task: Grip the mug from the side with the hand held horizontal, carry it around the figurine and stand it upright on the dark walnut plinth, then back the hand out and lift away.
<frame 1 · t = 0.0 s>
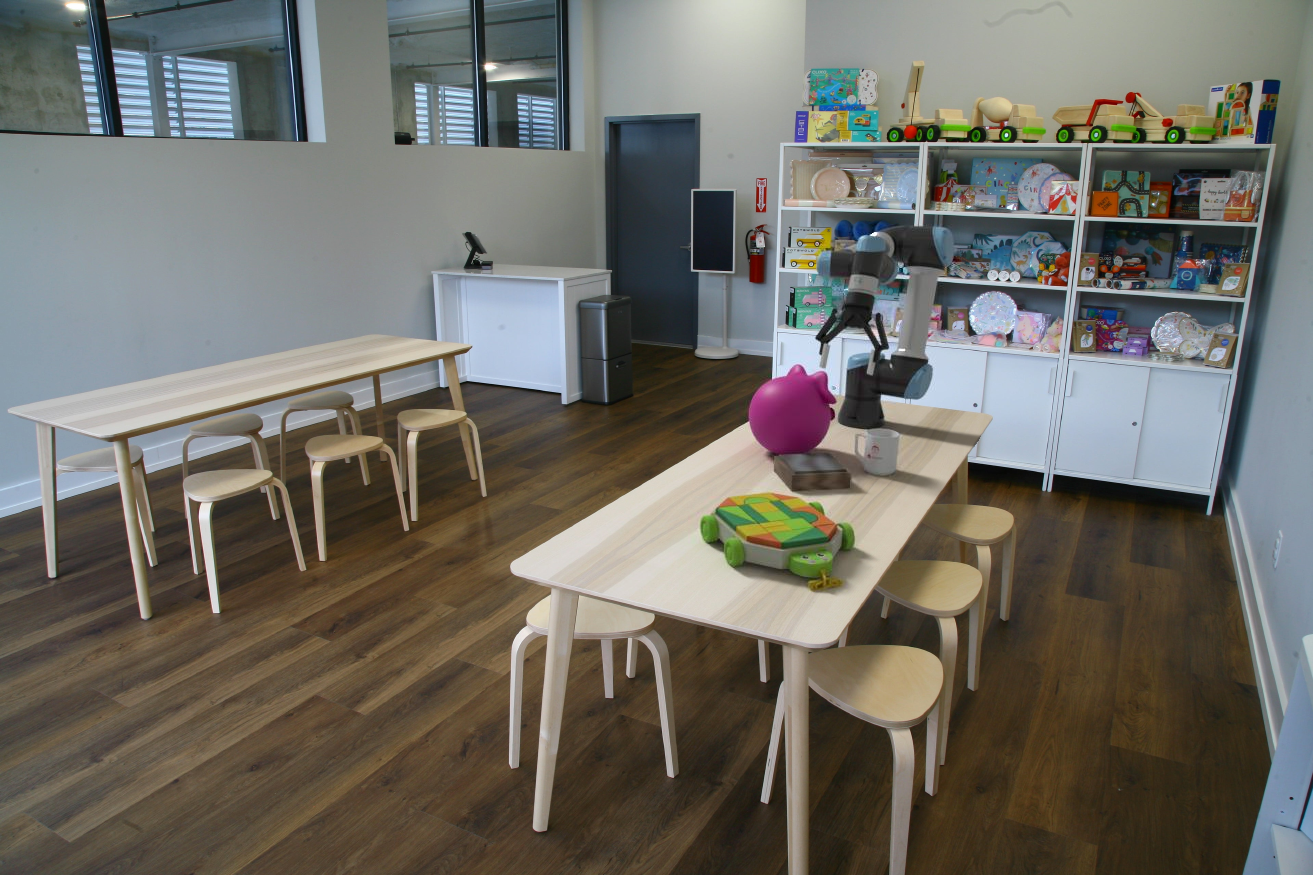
hand: (845, 371, 230), 28 cm above the table, tool tilted 20°, fingers open, 13 cm apart
figurine: (788, 453, 251), on the table
toy wagon: (777, 548, 188), on the table
mug: (873, 471, 237), on the table
walnut plinth: (810, 479, 229), on the table
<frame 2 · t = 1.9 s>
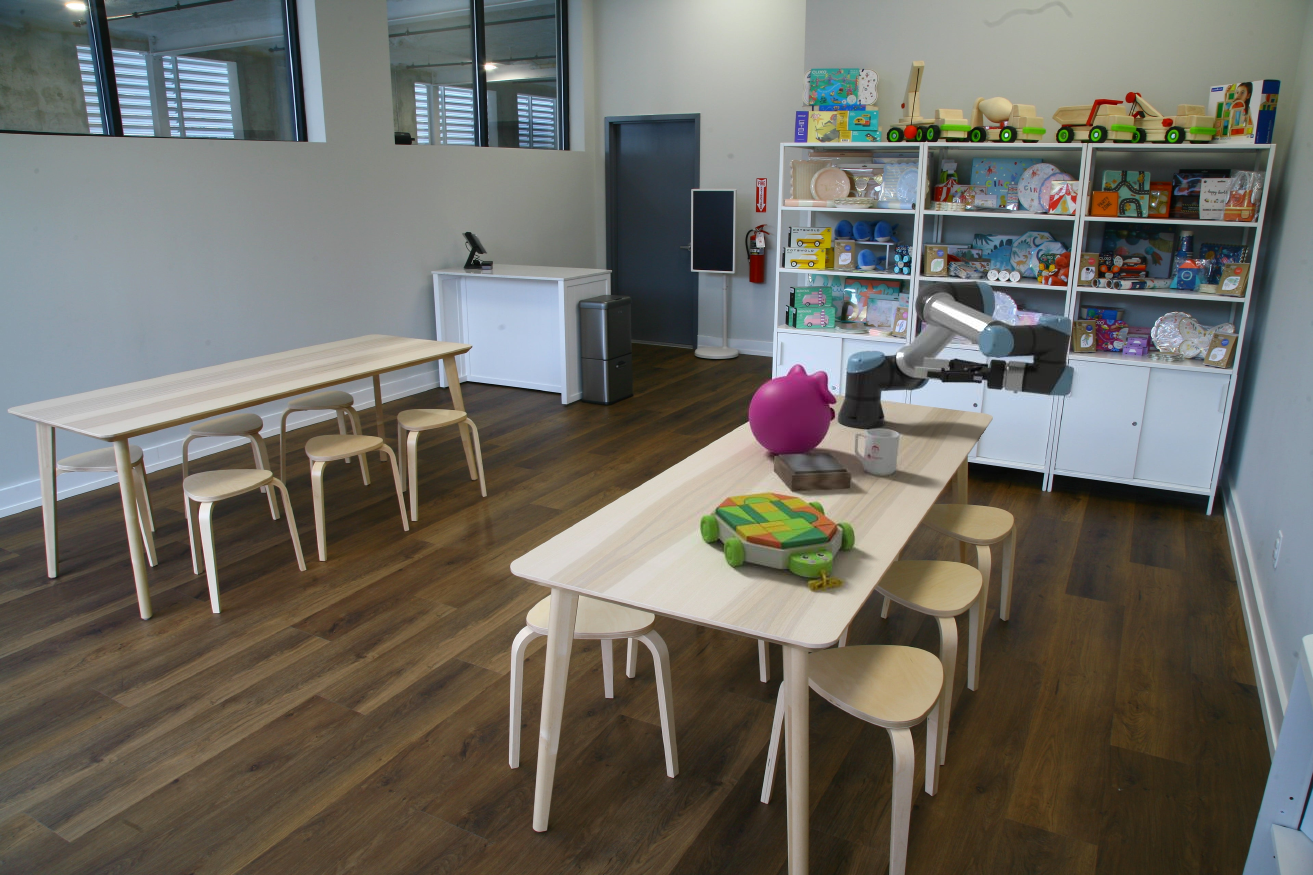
hand: (919, 367, 224), 30 cm above the table, tool horizontal, fingers open, 13 cm apart
nothing on the table moved.
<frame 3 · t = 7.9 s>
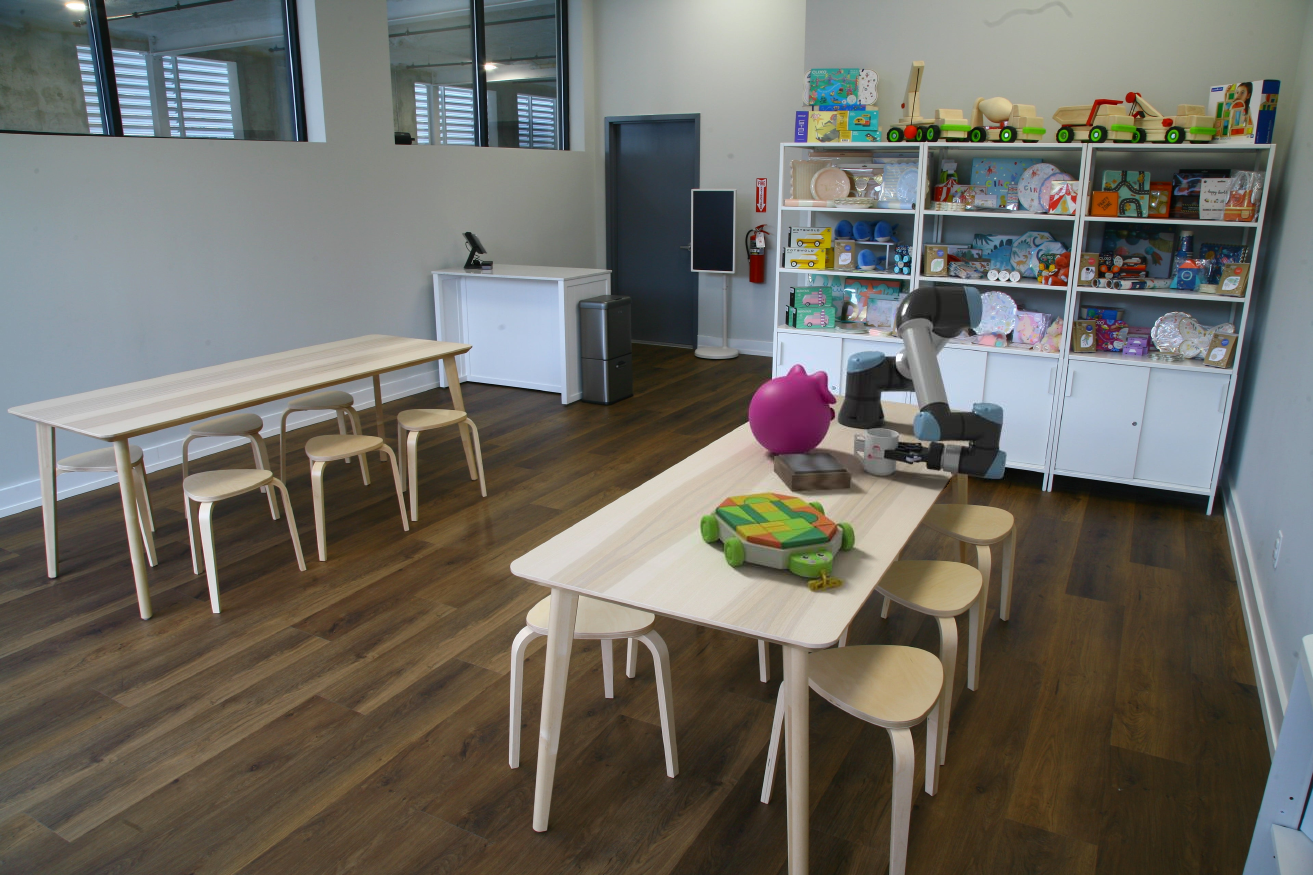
hand: (855, 444, 237), 7 cm above the table, tool horizontal, fingers closed on mug
mug: (873, 471, 237), on the table, touching gripper
everything else where it was.
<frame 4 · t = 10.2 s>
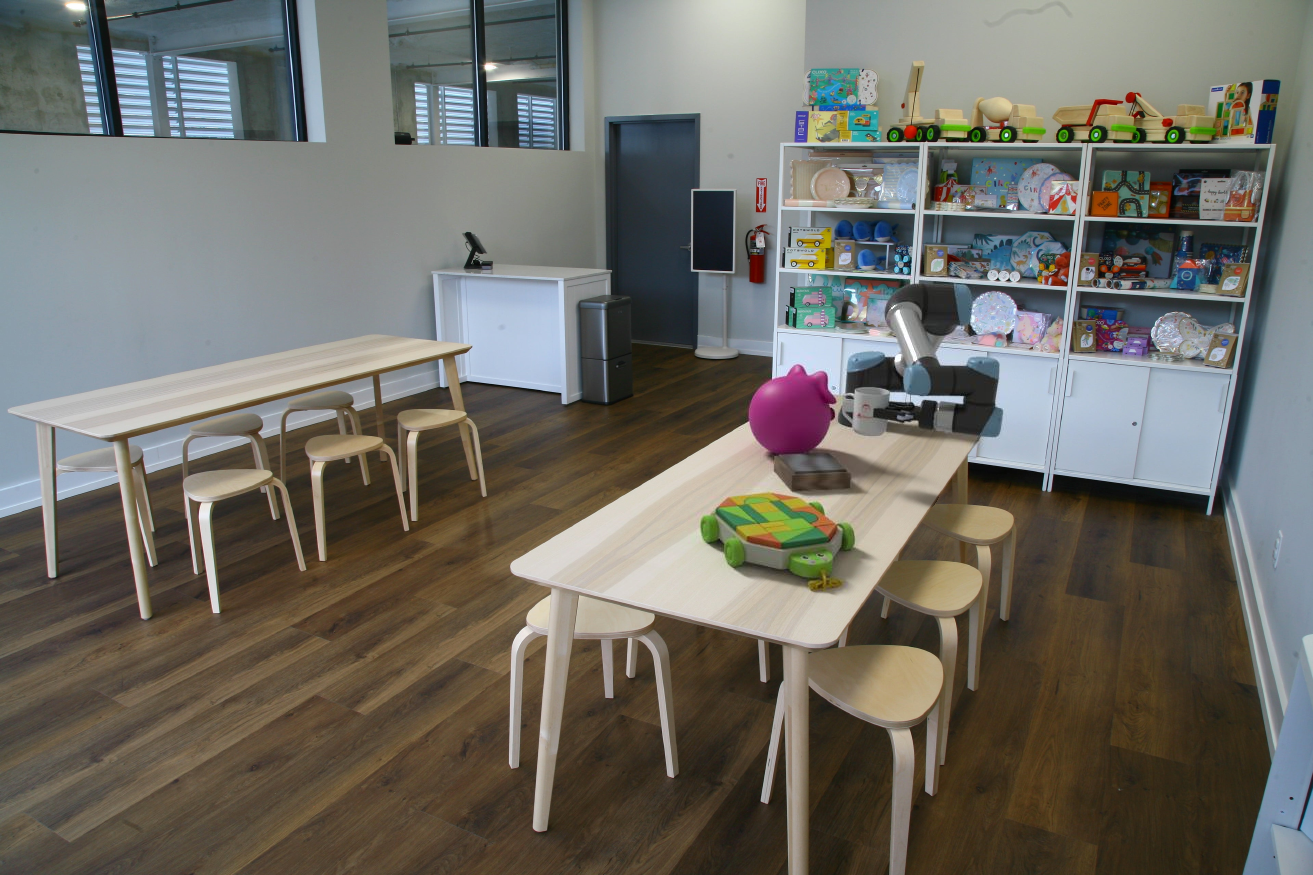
hand: (844, 404, 225), 20 cm above the table, tool horizontal, fingers closed on mug
mug: (862, 432, 224), point 14 cm above the table, touching gripper
everything else where it was.
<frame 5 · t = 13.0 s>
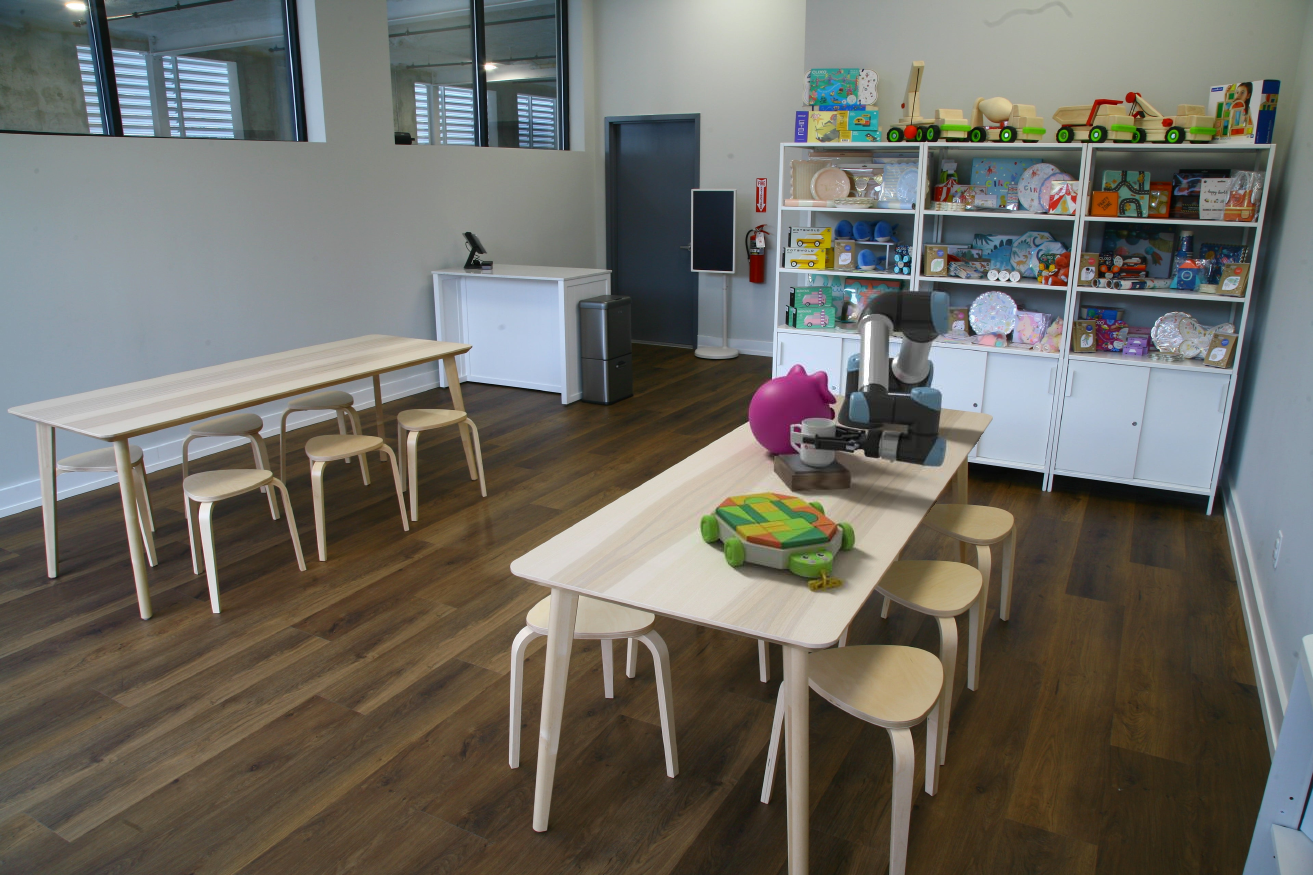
hand: (796, 432, 228), 12 cm above the table, tool horizontal, fingers open, 8 cm apart
mug: (811, 462, 228), point 5 cm above the table, touching walnut plinth
everything else where it was.
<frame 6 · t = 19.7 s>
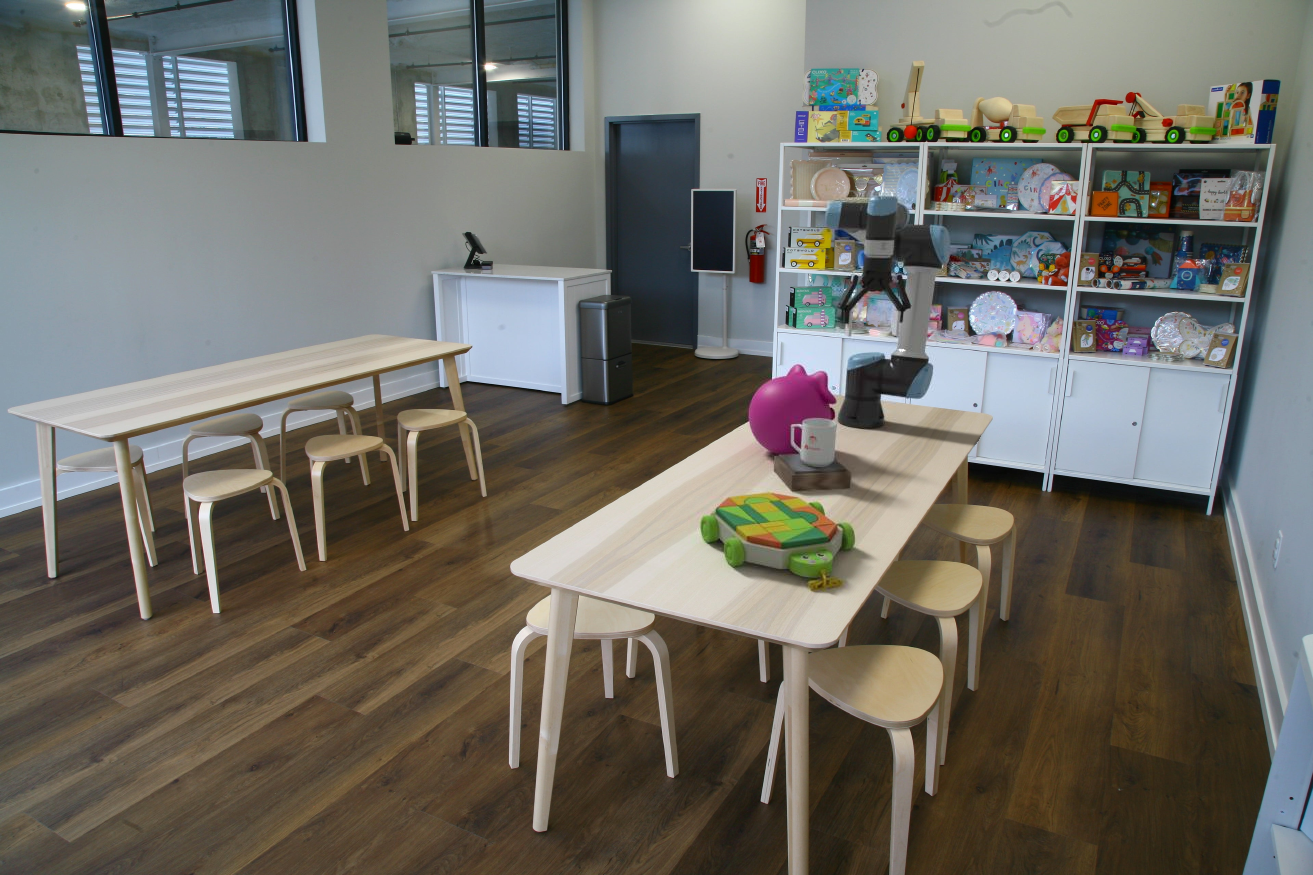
hand: (871, 335, 233), 37 cm above the table, tool pointing down, fingers open, 13 cm apart
nothing on the table moved.
at the end: mug inside the target area on the walnut plinth (0.2 cm from its centre), point 4.8 cm above the walnut plinth's base; mug tilted 0°; the gripper is holding nothing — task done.
